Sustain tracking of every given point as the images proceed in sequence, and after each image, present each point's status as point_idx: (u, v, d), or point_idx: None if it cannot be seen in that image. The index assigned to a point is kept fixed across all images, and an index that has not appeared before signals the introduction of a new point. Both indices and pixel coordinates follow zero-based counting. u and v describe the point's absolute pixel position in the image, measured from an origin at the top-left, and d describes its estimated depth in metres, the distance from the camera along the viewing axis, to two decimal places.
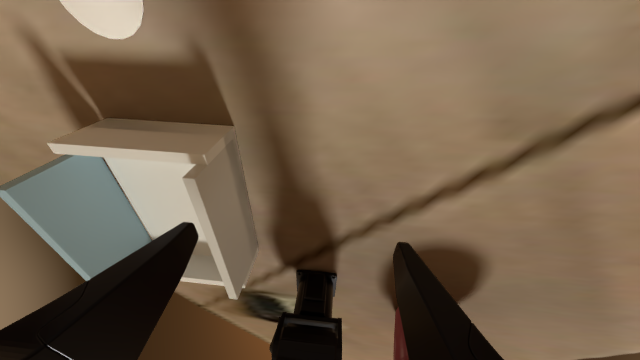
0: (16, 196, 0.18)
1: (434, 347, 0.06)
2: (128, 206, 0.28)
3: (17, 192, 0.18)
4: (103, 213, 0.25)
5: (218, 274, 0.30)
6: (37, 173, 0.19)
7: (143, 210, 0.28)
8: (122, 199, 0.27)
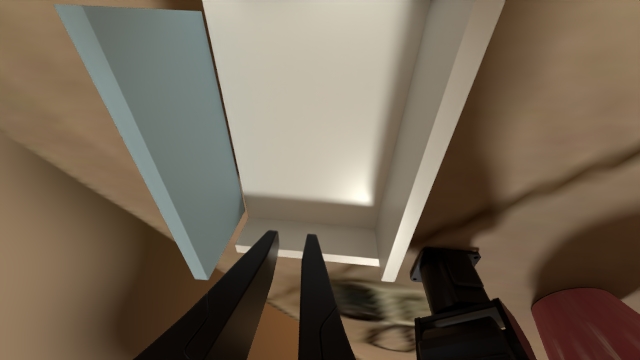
0: (100, 33, 0.08)
1: None
2: (227, 138, 0.18)
3: (102, 25, 0.08)
4: (205, 136, 0.15)
5: (346, 247, 0.21)
6: (132, 8, 0.09)
7: (246, 147, 0.19)
8: (222, 124, 0.17)
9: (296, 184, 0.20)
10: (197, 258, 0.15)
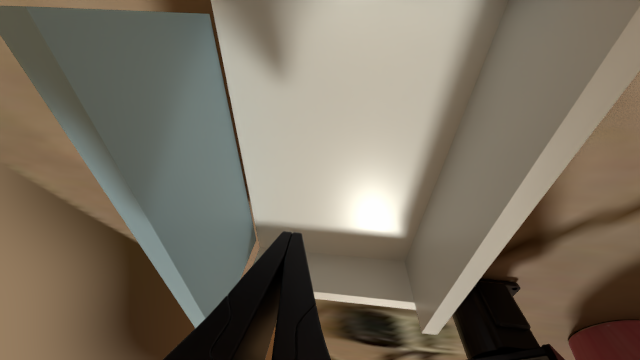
0: (62, 50, 0.05)
1: None
2: (238, 164, 0.15)
3: (65, 37, 0.05)
4: (213, 168, 0.12)
5: (374, 286, 0.18)
6: (114, 10, 0.06)
7: (260, 173, 0.16)
8: (233, 148, 0.14)
9: (317, 214, 0.17)
10: (203, 317, 0.12)
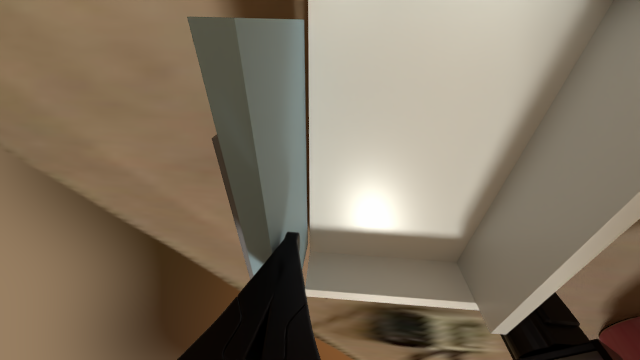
0: (245, 60, 0.05)
1: None
2: (305, 169, 0.15)
3: (247, 47, 0.05)
4: (296, 173, 0.12)
5: (433, 288, 0.18)
6: None
7: (325, 177, 0.16)
8: (304, 153, 0.14)
9: (376, 217, 0.17)
10: None
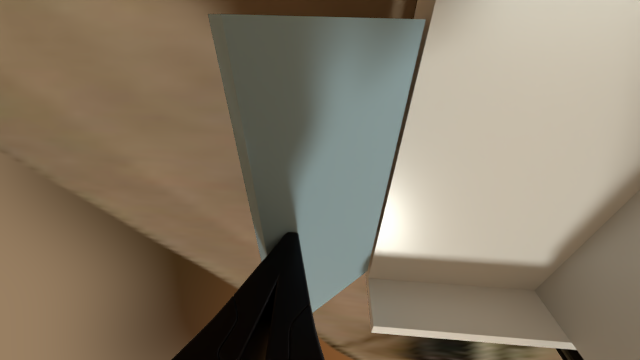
0: (239, 55, 0.05)
1: None
2: (382, 192, 0.13)
3: (246, 43, 0.05)
4: (350, 189, 0.11)
5: (517, 323, 0.16)
6: None
7: (406, 202, 0.14)
8: (384, 174, 0.12)
9: (455, 244, 0.15)
10: None
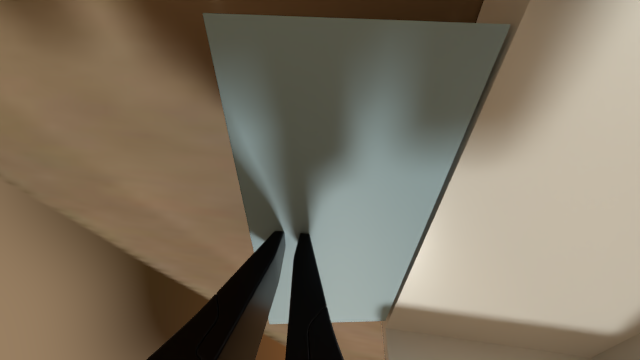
0: (221, 51, 0.06)
1: None
2: (412, 239, 0.10)
3: (226, 40, 0.06)
4: (358, 218, 0.09)
5: None
6: None
7: (443, 254, 0.11)
8: (416, 220, 0.10)
9: (499, 303, 0.12)
10: None
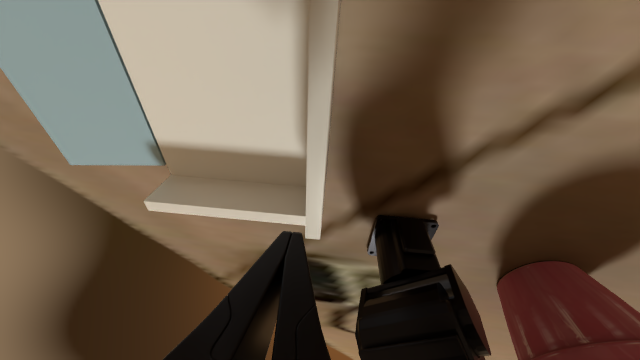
0: None
1: None
2: (116, 63, 0.15)
3: None
4: (58, 36, 0.14)
5: (274, 205, 0.18)
6: None
7: (146, 78, 0.15)
8: (104, 41, 0.14)
9: (215, 130, 0.17)
10: (51, 136, 0.18)
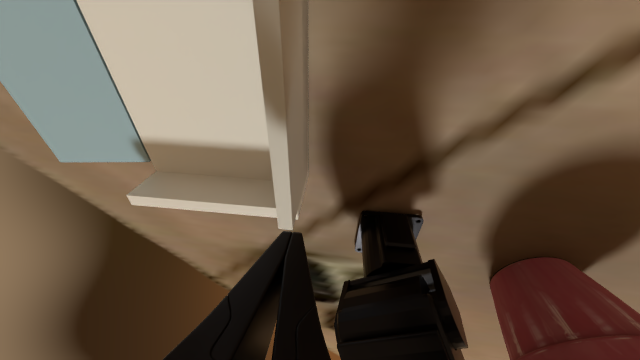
0: None
1: None
2: (98, 63, 0.16)
3: None
4: (43, 38, 0.15)
5: (252, 198, 0.18)
6: None
7: (126, 76, 0.16)
8: (85, 42, 0.15)
9: (195, 126, 0.18)
10: (40, 134, 0.18)
